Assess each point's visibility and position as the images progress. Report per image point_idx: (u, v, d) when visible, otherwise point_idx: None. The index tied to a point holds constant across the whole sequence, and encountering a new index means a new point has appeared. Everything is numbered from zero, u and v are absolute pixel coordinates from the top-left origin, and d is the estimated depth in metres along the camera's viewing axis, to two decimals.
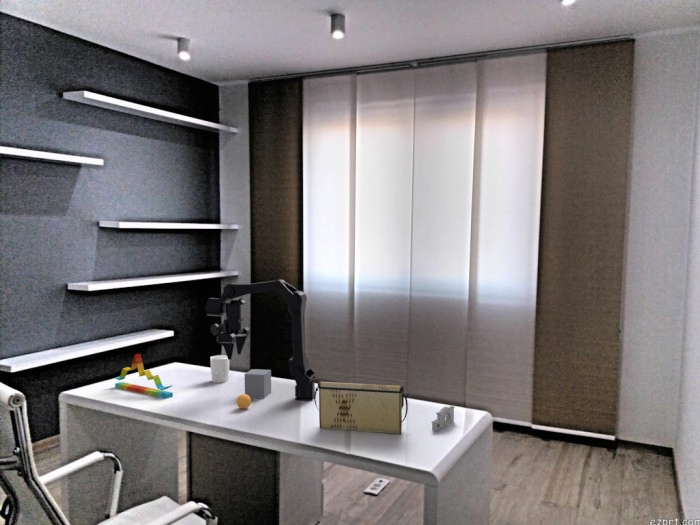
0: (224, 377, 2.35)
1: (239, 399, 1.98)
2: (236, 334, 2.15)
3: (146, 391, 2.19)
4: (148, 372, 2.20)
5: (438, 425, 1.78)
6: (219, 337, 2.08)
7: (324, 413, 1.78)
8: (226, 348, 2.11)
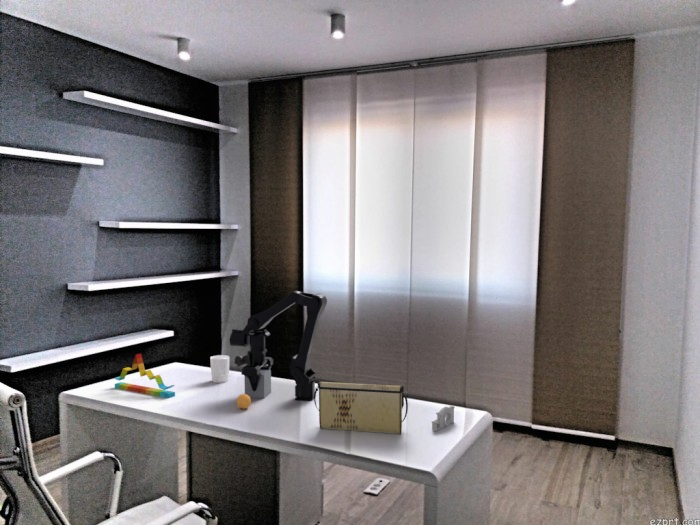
0: (224, 377, 2.35)
1: (239, 399, 1.98)
2: (260, 365, 2.16)
3: (147, 391, 2.19)
4: (149, 372, 2.20)
5: (438, 425, 1.78)
6: (244, 370, 2.08)
7: (324, 413, 1.77)
8: (251, 380, 2.11)
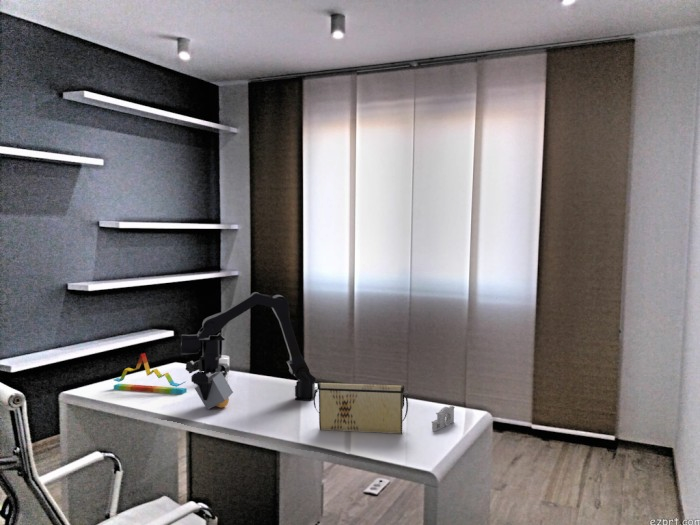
0: None
1: (221, 405, 1.99)
2: (213, 372, 2.00)
3: (156, 389, 2.21)
4: (156, 371, 2.22)
5: (438, 425, 1.78)
6: (194, 377, 1.93)
7: (324, 414, 1.76)
8: (201, 388, 1.96)
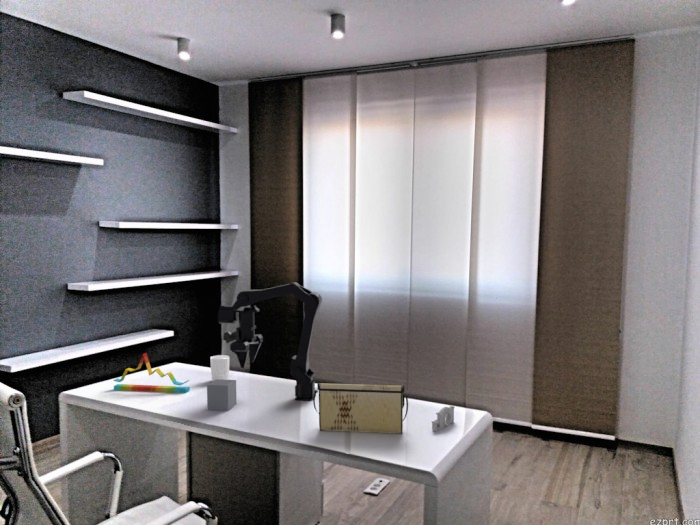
0: (224, 377, 2.35)
1: None
2: (249, 342, 2.12)
3: (158, 389, 2.22)
4: (158, 370, 2.23)
5: (438, 425, 1.78)
6: (232, 345, 2.05)
7: (324, 415, 1.76)
8: (239, 356, 2.08)
